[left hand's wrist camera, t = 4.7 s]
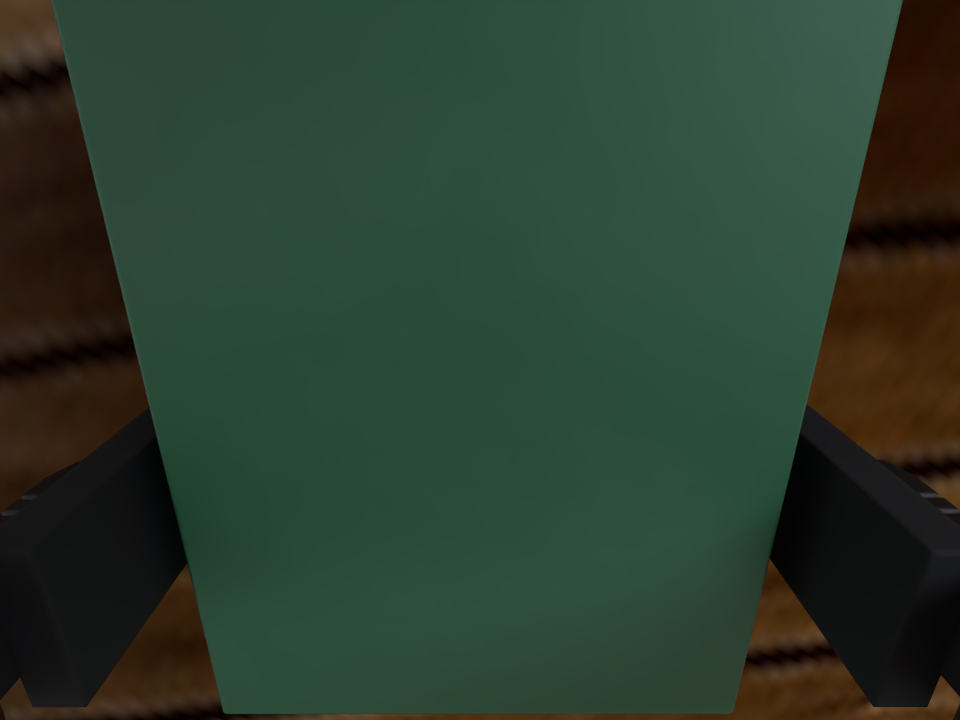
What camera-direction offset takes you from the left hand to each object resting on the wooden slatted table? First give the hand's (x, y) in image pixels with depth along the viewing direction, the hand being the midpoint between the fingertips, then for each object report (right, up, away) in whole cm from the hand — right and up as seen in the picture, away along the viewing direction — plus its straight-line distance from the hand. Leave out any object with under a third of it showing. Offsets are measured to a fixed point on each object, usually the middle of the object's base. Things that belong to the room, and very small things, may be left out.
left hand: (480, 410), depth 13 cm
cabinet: (0, +4, +4) cm, 6 cm away
